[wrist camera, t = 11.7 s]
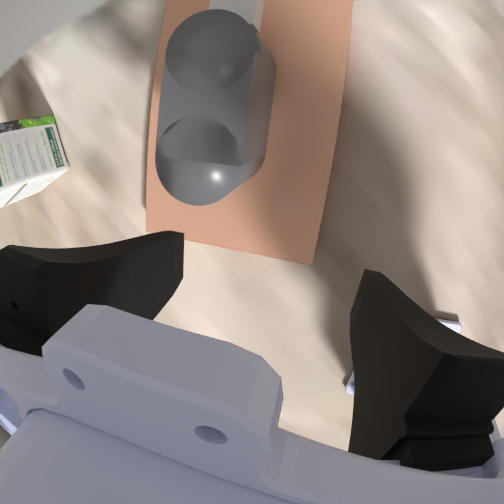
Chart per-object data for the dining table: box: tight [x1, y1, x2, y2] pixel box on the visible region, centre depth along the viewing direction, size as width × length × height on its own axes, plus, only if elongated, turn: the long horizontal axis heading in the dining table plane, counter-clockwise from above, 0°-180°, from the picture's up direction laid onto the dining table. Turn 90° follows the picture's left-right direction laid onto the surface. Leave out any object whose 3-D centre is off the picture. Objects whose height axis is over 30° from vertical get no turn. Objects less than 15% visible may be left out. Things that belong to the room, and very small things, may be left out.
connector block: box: [155, 0, 276, 206], centre depth 14 cm, size 11×4×6 cm, turn 174°
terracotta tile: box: [146, 0, 353, 265], centre depth 18 cm, size 18×12×2 cm, turn 174°
